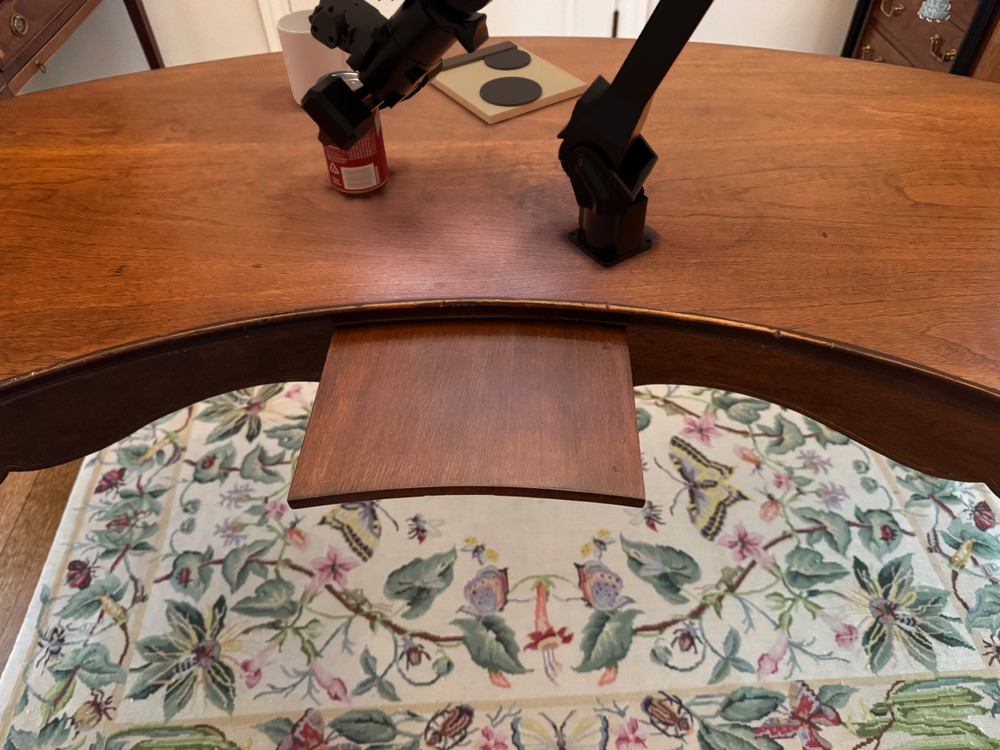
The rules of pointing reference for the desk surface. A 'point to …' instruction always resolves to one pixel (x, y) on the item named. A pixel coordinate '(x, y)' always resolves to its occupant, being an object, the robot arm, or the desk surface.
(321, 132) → the robot arm
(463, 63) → the hob
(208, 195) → the desk surface
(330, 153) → the soda can
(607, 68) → the desk surface
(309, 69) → the mug
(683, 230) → the desk surface
